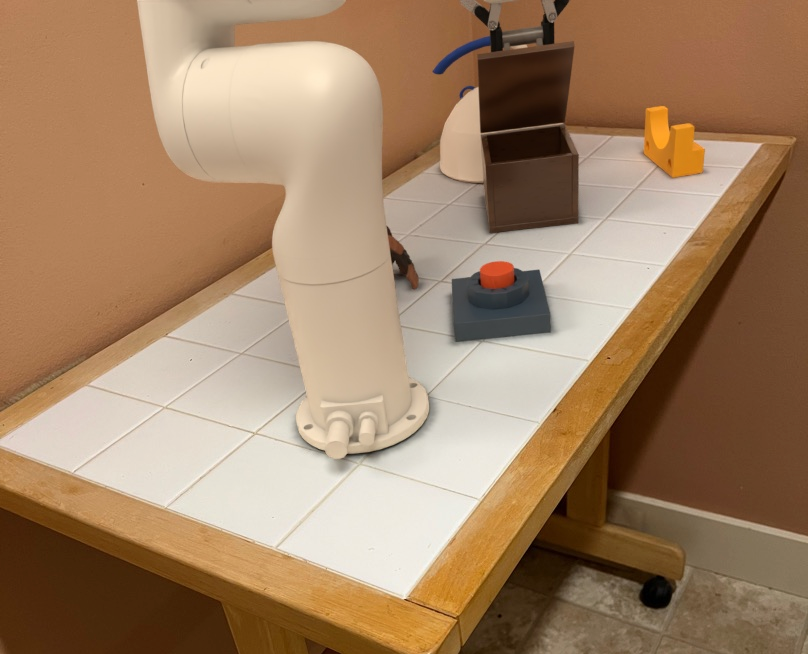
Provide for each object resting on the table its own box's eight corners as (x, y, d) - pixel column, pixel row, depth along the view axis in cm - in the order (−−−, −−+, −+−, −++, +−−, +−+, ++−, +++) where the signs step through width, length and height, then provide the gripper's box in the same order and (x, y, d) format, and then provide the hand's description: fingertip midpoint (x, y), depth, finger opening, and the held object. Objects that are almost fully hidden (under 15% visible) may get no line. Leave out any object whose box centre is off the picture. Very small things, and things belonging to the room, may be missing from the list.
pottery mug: (423, 303, 95) (381, 254, 89) (360, 336, 99) (316, 292, 94) (425, 238, 102) (387, 190, 96) (366, 272, 106) (326, 228, 101)
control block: (550, 332, 84) (550, 297, 82) (455, 342, 86) (451, 308, 83) (539, 287, 93) (539, 254, 91) (453, 296, 94) (450, 263, 92)
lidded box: (578, 223, 106) (578, 153, 101) (489, 233, 107) (485, 165, 102) (565, 187, 117) (564, 123, 111) (484, 197, 118) (480, 134, 112)
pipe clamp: (702, 172, 114) (707, 124, 110) (672, 177, 114) (676, 129, 110) (671, 148, 124) (674, 103, 120) (643, 153, 124) (645, 108, 120)
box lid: (574, 46, 97) (570, 10, 98) (477, 59, 98) (474, 23, 99) (565, 122, 111) (561, 90, 112) (480, 133, 112) (477, 101, 113)
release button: (515, 288, 85) (515, 273, 84) (481, 292, 86) (480, 277, 85) (513, 274, 88) (512, 259, 87) (480, 278, 89) (478, 263, 88)
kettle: (556, 182, 119) (555, 45, 107) (423, 185, 125) (408, 56, 114) (579, 139, 133) (580, 14, 122) (458, 143, 140) (448, 25, 129)
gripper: (442, -105, 89) (455, 75, 100) (599, -129, 87) (595, 57, 99) (441, -108, 95) (454, 63, 106) (589, -131, 93) (586, 45, 104)
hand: (522, 58), depth 102 cm, fingers closed on box lid, 5 cm apart
